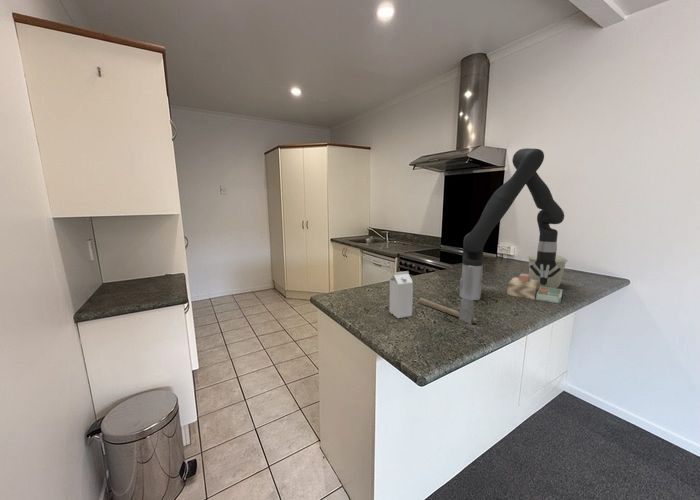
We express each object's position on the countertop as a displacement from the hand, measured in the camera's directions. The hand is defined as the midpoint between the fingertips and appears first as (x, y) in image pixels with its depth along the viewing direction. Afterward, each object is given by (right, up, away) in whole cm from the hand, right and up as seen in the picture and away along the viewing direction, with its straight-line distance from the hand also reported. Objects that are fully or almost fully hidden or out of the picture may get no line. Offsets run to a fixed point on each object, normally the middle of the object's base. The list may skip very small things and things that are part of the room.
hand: (543, 284), depth 135 cm
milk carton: (-75, -11, -17) cm, 77 cm away
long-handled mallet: (-55, -11, -16) cm, 58 cm away
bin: (+4, -7, +1) cm, 8 cm away
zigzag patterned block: (-5, -6, +8) cm, 11 cm away
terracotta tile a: (-1, -4, +2) cm, 4 cm away
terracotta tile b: (-3, +1, +11) cm, 11 cm away
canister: (+14, -4, +19) cm, 24 cm away
